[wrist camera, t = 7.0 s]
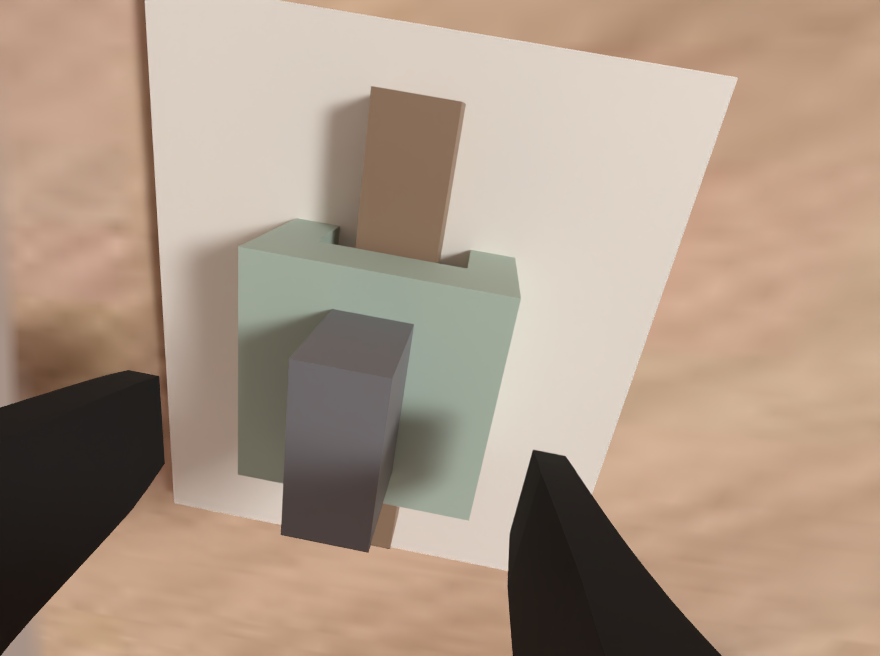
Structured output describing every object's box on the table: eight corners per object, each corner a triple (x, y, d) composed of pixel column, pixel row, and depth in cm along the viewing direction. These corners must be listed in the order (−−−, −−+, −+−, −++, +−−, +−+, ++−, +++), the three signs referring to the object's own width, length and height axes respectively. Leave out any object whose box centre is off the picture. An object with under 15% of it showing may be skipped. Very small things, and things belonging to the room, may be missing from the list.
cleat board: (558, 563, 18) (566, 620, 16) (186, 488, 19) (147, 534, 17) (723, 80, 12) (771, 71, 10) (164, -14, 13) (97, -42, 11)
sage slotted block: (474, 441, 16) (462, 608, 10) (288, 405, 16) (181, 551, 11) (515, 257, 14) (527, 348, 8) (297, 218, 14) (166, 281, 8)
